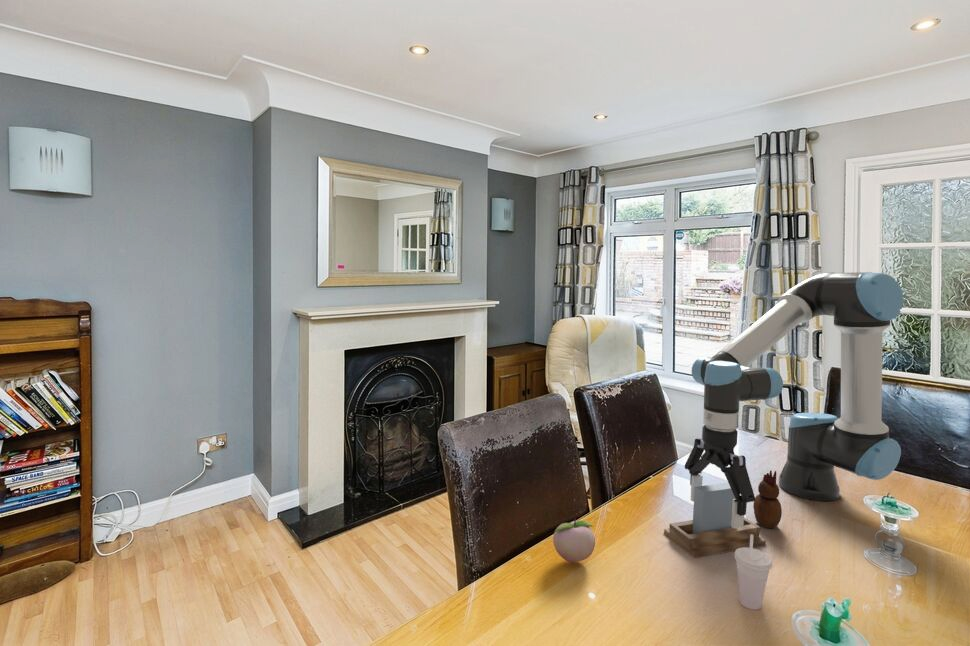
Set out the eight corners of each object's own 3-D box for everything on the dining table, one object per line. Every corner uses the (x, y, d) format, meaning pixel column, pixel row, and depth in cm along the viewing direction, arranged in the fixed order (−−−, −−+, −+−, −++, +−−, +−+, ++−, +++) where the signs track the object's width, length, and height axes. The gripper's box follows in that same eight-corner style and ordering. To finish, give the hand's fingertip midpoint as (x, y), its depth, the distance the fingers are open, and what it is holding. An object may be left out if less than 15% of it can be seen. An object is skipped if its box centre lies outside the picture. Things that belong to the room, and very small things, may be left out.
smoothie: (725, 593, 98) (729, 526, 96) (755, 591, 98) (759, 525, 97) (744, 615, 91) (749, 544, 90) (777, 613, 92) (781, 543, 90)
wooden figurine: (784, 532, 121) (788, 474, 119) (758, 530, 122) (762, 472, 120) (773, 519, 127) (777, 464, 126) (749, 517, 129) (753, 462, 127)
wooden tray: (730, 522, 126) (731, 509, 125) (765, 544, 115) (766, 531, 115) (664, 532, 120) (664, 519, 120) (694, 557, 110) (695, 543, 109)
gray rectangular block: (726, 528, 120) (728, 482, 119) (735, 534, 118) (738, 487, 116) (692, 534, 118) (694, 486, 117) (700, 540, 115) (703, 492, 114)
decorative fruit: (569, 579, 102) (570, 533, 101) (546, 558, 109) (547, 516, 108) (603, 566, 106) (605, 523, 105) (580, 548, 113) (581, 507, 112)
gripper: (672, 413, 126) (669, 492, 128) (749, 446, 102) (743, 542, 104) (696, 411, 128) (693, 489, 130) (777, 443, 104) (771, 537, 106)
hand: (715, 512), depth 117 cm, fingers open, 13 cm apart
